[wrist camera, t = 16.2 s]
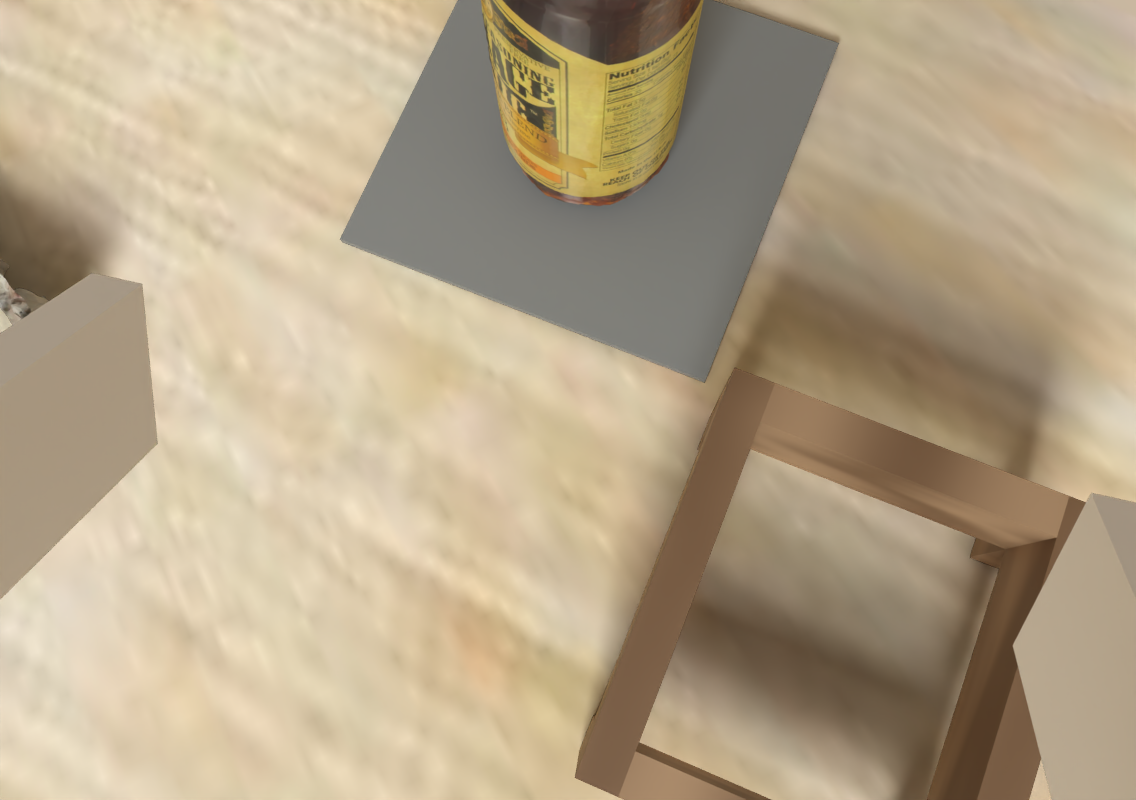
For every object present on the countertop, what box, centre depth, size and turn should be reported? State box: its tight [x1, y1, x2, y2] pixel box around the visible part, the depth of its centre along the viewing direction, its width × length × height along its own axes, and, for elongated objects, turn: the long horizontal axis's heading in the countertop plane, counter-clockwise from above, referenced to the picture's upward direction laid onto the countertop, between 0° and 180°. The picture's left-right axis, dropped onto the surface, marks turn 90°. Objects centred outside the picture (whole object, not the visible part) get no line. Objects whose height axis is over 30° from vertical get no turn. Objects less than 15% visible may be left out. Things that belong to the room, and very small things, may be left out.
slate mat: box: [340, 0, 839, 383], centre depth 37 cm, size 14×14×1 cm
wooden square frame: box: [575, 368, 1086, 800], centre depth 30 cm, size 11×12×6 cm
